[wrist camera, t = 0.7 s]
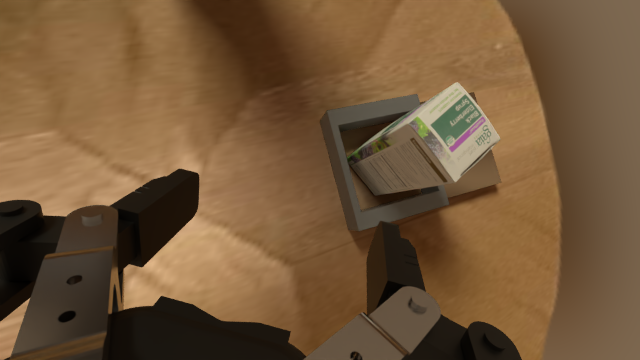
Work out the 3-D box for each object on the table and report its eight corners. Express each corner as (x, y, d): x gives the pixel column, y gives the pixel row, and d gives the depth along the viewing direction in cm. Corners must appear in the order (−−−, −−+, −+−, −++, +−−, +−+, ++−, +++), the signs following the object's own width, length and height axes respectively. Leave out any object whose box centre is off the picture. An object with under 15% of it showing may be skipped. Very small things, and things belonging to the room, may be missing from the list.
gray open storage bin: (319, 121, 34) (326, 110, 31) (402, 105, 37) (417, 93, 33) (348, 229, 33) (359, 231, 30) (431, 205, 36) (449, 204, 33)
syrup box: (377, 131, 36) (457, 75, 22) (408, 168, 36) (506, 137, 22) (343, 159, 34) (405, 119, 20) (375, 198, 34) (458, 185, 20)
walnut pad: (406, 108, 37) (413, 103, 35) (465, 96, 39) (473, 92, 38) (433, 200, 36) (440, 200, 35) (492, 183, 38) (501, 182, 37)
